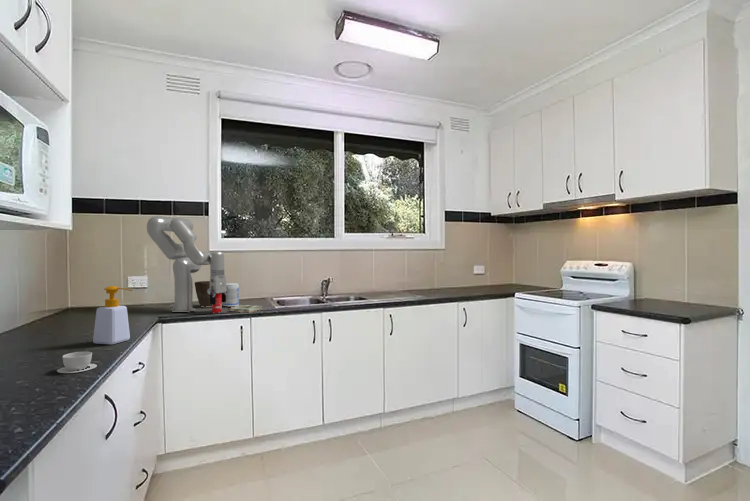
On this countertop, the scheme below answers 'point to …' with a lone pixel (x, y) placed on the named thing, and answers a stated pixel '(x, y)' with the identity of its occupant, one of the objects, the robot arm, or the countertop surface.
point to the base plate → (245, 308)
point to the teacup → (76, 362)
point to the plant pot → (203, 293)
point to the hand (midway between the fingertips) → (218, 303)
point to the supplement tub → (232, 295)
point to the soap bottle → (111, 321)
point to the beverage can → (217, 303)
